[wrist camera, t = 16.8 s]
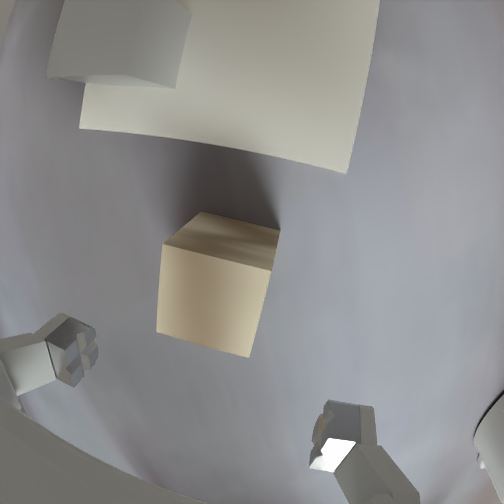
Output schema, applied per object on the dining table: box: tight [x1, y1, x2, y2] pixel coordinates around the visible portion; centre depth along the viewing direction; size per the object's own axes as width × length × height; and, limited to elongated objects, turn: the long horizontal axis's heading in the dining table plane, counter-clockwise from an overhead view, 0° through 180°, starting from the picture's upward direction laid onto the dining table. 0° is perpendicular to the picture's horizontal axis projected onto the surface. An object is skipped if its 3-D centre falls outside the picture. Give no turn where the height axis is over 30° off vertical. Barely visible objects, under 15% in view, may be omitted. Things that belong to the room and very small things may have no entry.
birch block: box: [156, 212, 280, 358], centre depth 16 cm, size 4×4×6 cm
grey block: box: [46, 0, 192, 89], centre depth 12 cm, size 4×4×6 cm
